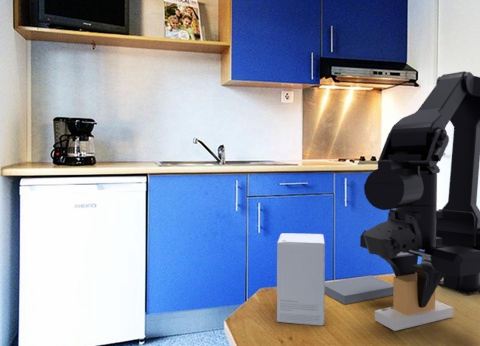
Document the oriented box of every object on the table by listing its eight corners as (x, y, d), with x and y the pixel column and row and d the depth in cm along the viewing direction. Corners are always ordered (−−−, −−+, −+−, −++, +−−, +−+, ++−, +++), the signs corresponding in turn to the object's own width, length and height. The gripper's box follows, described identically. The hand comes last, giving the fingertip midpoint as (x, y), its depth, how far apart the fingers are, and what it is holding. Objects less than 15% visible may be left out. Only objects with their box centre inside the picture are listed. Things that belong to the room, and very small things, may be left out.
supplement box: (325, 326, 56) (325, 243, 56) (275, 322, 58) (275, 241, 57) (324, 307, 63) (324, 233, 63) (280, 304, 65) (280, 231, 64)
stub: (431, 307, 62) (431, 268, 62) (452, 316, 59) (453, 275, 59) (374, 320, 58) (375, 278, 58) (394, 330, 54) (395, 286, 54)
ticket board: (370, 282, 76) (370, 275, 76) (397, 294, 69) (397, 286, 69) (320, 291, 71) (320, 283, 71) (344, 304, 64) (344, 295, 64)
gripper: (334, 200, 63) (334, 291, 64) (429, 215, 46) (427, 341, 46) (385, 196, 67) (384, 282, 68) (489, 210, 50) (487, 324, 51)
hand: (414, 303), depth 58 cm, fingers closed on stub, 2 cm apart
